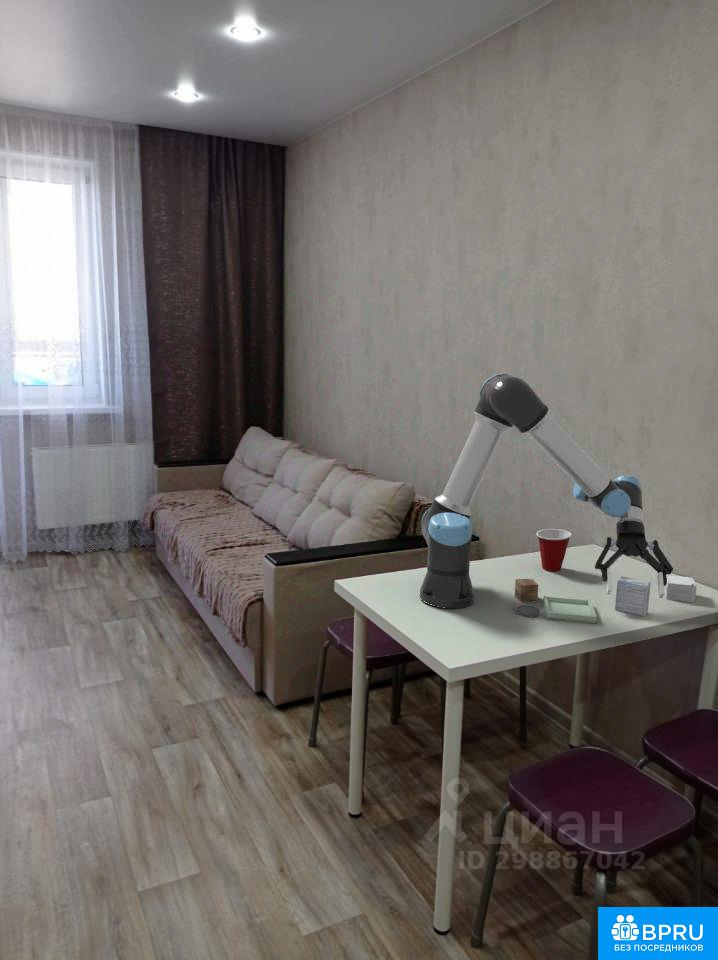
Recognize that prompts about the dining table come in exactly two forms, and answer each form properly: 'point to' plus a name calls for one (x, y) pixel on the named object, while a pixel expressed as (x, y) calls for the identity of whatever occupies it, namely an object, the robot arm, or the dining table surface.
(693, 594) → the small box
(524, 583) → the walnut cube
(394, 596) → the dining table surface
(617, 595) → the medicine box
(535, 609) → the dark grey pebble
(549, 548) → the plastic cup
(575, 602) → the tray
